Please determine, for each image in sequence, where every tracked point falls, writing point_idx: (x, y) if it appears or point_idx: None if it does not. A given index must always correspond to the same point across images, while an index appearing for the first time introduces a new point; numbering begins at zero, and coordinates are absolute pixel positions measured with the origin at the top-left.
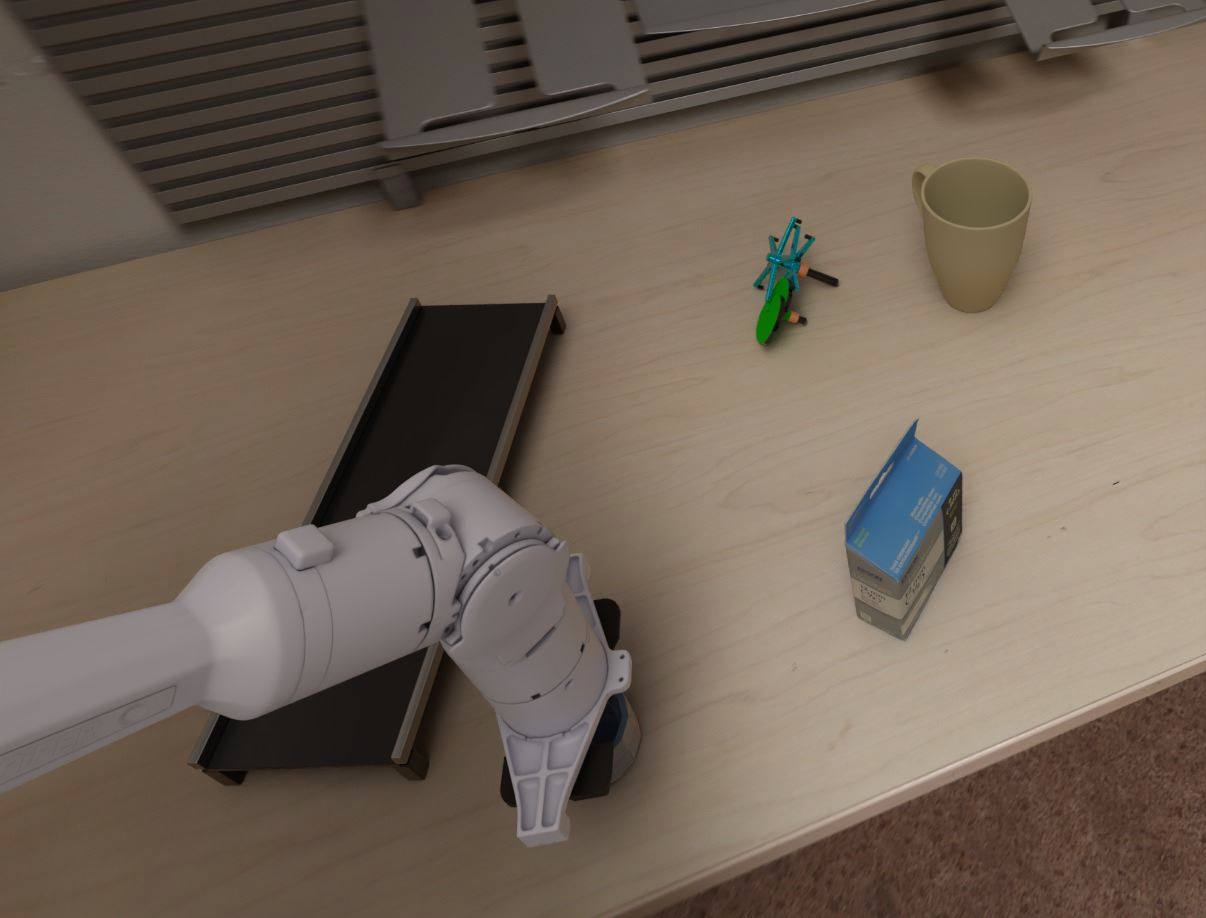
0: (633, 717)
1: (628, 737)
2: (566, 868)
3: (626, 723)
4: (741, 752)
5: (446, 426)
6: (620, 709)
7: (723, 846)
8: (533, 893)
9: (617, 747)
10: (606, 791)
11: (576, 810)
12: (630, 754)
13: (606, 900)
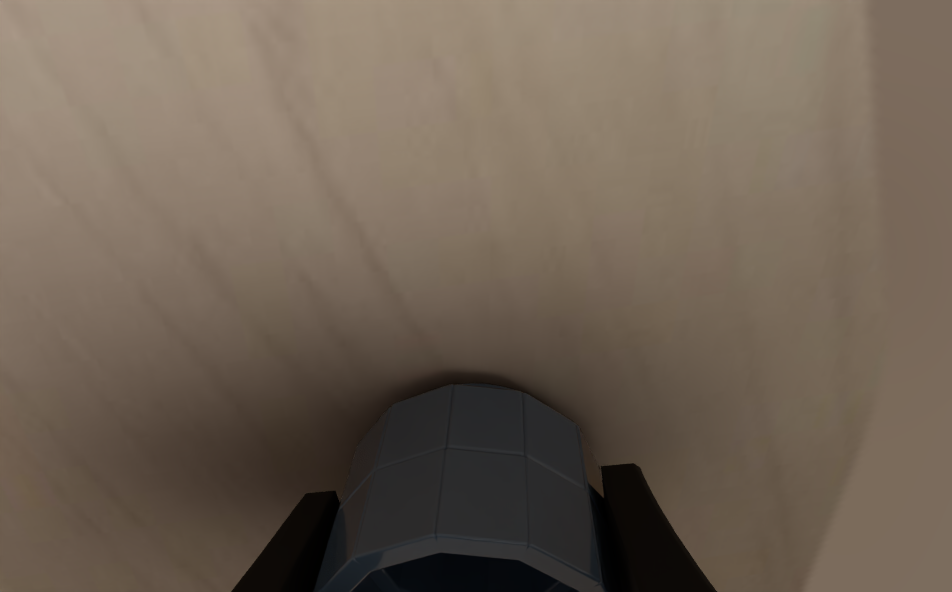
0: (415, 455)
1: (496, 485)
2: (768, 484)
3: (465, 538)
4: (496, 25)
5: None
6: (411, 559)
7: (830, 56)
8: (805, 534)
9: (549, 541)
10: (652, 494)
11: None
12: (523, 426)
13: (877, 390)
